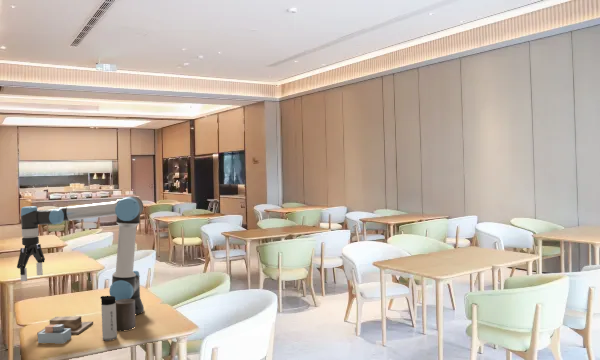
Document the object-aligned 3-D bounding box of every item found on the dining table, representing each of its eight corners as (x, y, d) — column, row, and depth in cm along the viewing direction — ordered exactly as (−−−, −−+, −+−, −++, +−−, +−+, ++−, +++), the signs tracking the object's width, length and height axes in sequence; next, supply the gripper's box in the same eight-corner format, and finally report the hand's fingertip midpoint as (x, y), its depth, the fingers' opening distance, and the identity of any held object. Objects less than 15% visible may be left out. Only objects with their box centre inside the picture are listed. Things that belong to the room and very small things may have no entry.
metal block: (64, 331, 230) (64, 324, 230) (60, 334, 227) (60, 326, 227) (57, 331, 230) (56, 324, 230) (53, 334, 227) (52, 326, 227)
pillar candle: (116, 332, 238) (115, 302, 237) (113, 327, 246) (113, 297, 246) (137, 329, 242) (136, 299, 242) (134, 324, 251) (133, 294, 250)
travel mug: (104, 336, 232) (102, 294, 232) (118, 336, 233) (117, 294, 232) (100, 341, 226) (98, 298, 225) (114, 340, 226) (113, 297, 226)
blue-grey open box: (71, 338, 232) (70, 328, 232) (63, 344, 225) (63, 333, 225) (46, 339, 232) (46, 328, 232) (38, 344, 225) (37, 333, 225)
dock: (92, 323, 252) (92, 313, 252) (78, 334, 237) (77, 322, 236) (54, 324, 253) (54, 313, 253) (37, 335, 237) (36, 323, 237)
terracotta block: (56, 331, 230) (56, 324, 230) (52, 334, 227) (52, 326, 227) (49, 332, 230) (49, 324, 230) (45, 334, 227) (44, 327, 227)
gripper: (37, 233, 263) (39, 272, 264) (7, 240, 238) (9, 283, 239) (50, 233, 263) (52, 272, 263) (22, 240, 238) (24, 283, 238)
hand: (32, 278), depth 251 cm, fingers open, 13 cm apart
